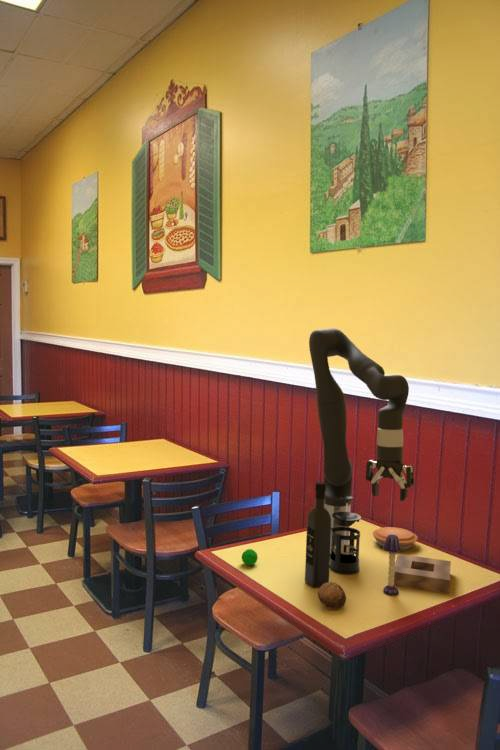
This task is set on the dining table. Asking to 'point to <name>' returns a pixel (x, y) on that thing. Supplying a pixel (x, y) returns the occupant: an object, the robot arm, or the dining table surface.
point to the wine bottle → (318, 540)
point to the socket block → (422, 573)
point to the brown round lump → (332, 595)
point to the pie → (403, 535)
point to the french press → (345, 553)
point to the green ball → (249, 557)
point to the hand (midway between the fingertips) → (389, 498)
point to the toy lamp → (391, 562)
